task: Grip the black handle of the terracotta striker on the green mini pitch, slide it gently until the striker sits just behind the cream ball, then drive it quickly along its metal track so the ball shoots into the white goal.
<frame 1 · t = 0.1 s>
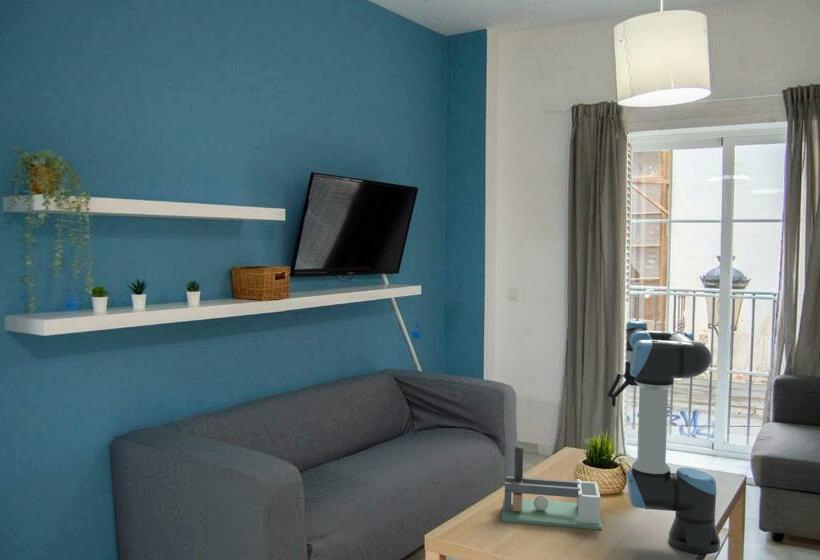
hand: (634, 415, 274), 28 cm above the table, tool pointing down, fingers open, 13 cm apart
striker: (518, 476, 250), point 13 cm above the table, slide at 0.0 cm
pitch: (549, 513, 249), on the table
mug: (653, 488, 275), on the table
ball: (540, 503, 249), point 3 cm above the table, touching pitch
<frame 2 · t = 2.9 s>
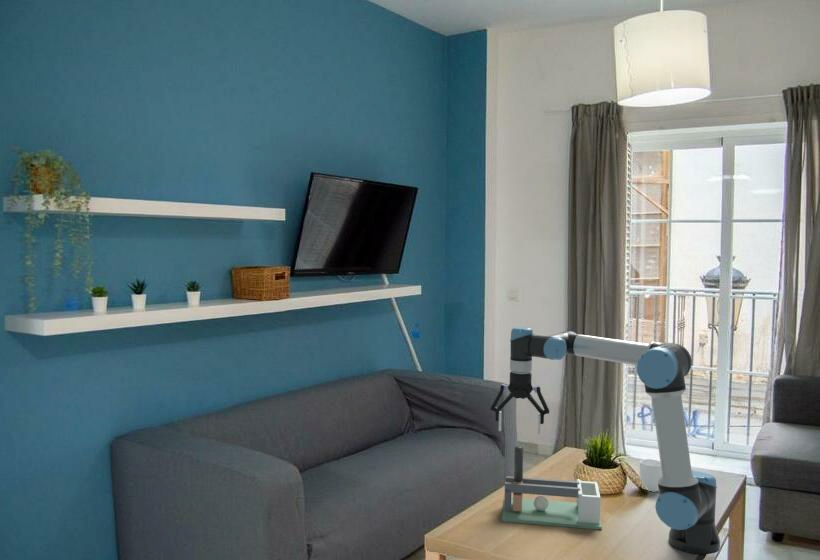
hand: (519, 431, 249), 29 cm above the table, tool pointing down, fingers open, 13 cm apart
nothing on the table moved.
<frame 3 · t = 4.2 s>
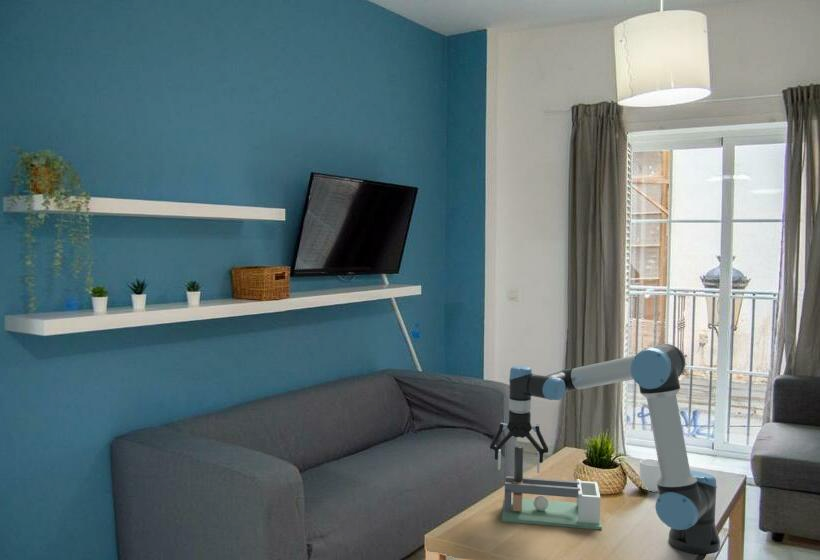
hand: (518, 470, 250), 15 cm above the table, tool pointing down, fingers open, 13 cm apart
nothing on the table moved.
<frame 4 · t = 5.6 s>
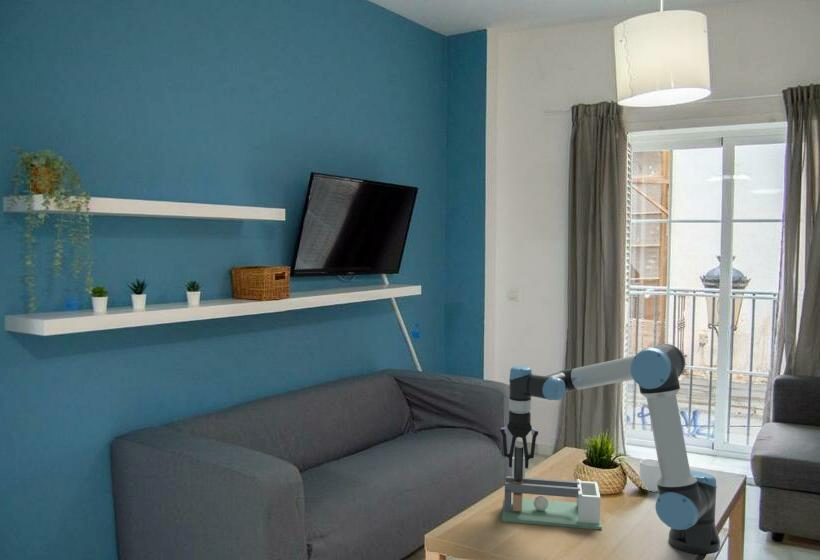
hand: (518, 476, 250), 13 cm above the table, tool pointing down, fingers closed on striker, 3 cm apart
striker: (518, 476, 250), point 12 cm above the table, slide at 0.0 cm, touching gripper
everything else where it was.
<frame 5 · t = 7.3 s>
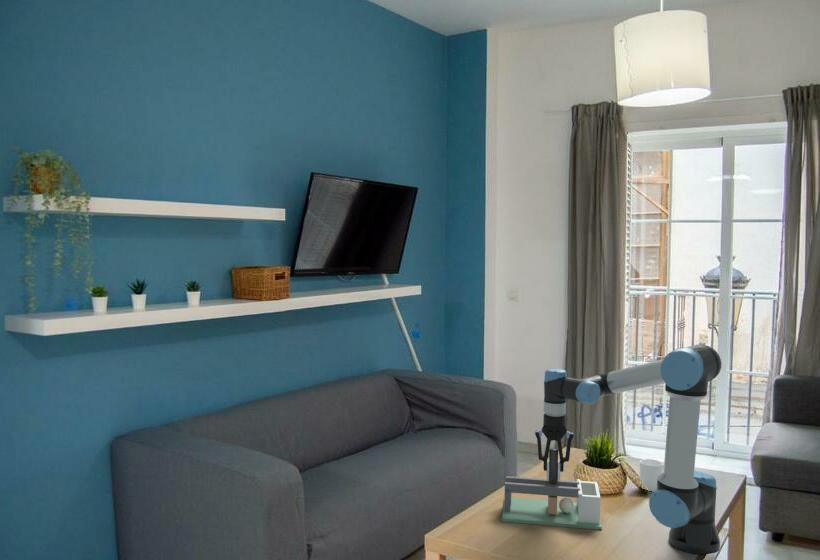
hand: (553, 479, 248), 12 cm above the table, tool pointing down, fingers closed on striker, 3 cm apart
striker: (553, 479, 248), point 12 cm above the table, slide at 12.0 cm, touching gripper
ball: (566, 505, 247), point 3 cm above the table, tilted 168°, touching pitch
everything else where it was.
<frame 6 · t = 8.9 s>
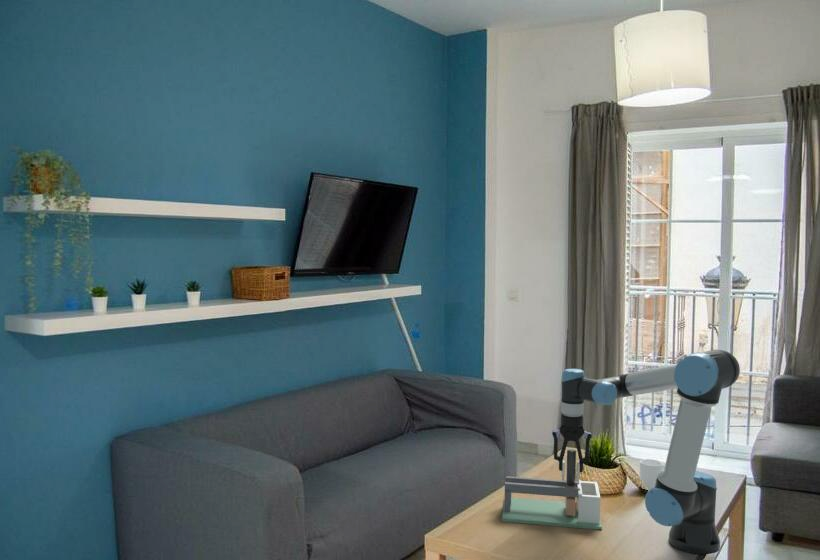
hand: (570, 480, 246), 13 cm above the table, tool pointing down, fingers open, 4 cm apart
striker: (570, 480, 246), point 13 cm above the table, slide at 18.0 cm
ball: (582, 506, 246), point 3 cm above the table, tilted 43°, touching pitch
everything else where it was.
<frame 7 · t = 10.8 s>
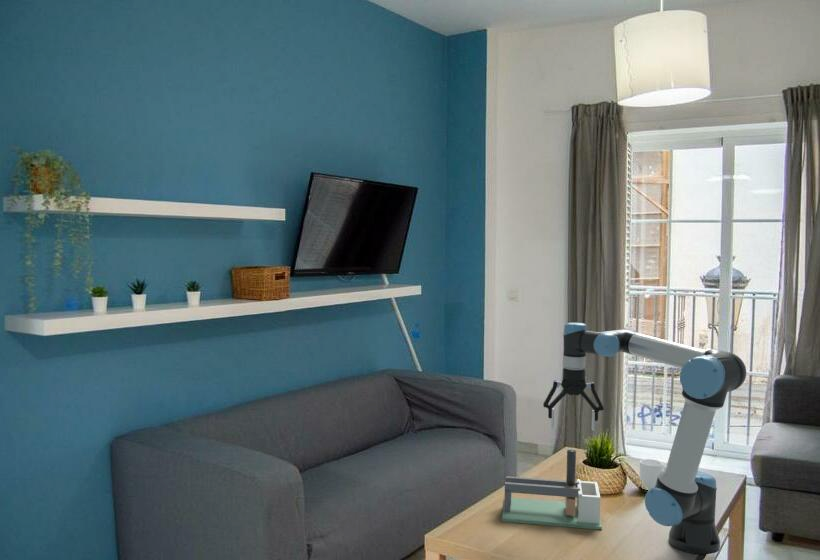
hand: (572, 428, 245), 31 cm above the table, tool pointing down, fingers open, 13 cm apart
ball: (584, 506, 246), point 3 cm above the table, tilted 25°, touching pitch
everything else where it was.
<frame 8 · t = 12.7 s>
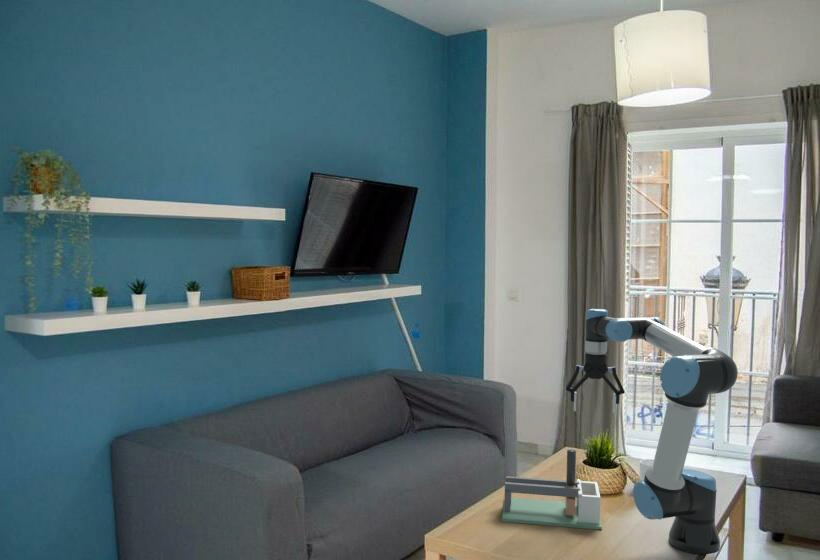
hand: (594, 411, 253), 35 cm above the table, tool pointing down, fingers open, 13 cm apart
ball: (586, 507, 246), point 3 cm above the table, tilted 8°, touching pitch
everything else where it was.
at the end: ball inside the target area (0.1 cm from its centre), point 3.5 cm above the table; striker slide at 18.0 cm; the gripper is holding nothing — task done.
